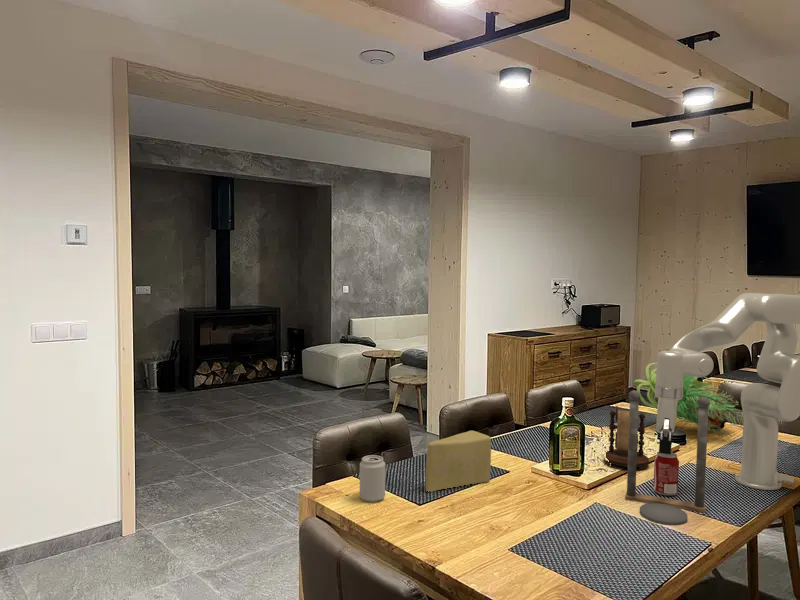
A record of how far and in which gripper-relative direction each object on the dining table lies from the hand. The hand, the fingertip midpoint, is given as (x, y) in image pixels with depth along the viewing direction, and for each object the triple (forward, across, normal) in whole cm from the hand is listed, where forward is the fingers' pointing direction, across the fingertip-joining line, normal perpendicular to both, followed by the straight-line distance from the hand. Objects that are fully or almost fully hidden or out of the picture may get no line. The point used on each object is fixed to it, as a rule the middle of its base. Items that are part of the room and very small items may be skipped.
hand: (665, 449), depth 181 cm
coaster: (+14, +17, +1) cm, 22 cm away
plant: (+12, -73, +9) cm, 74 cm away
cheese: (+15, +22, -58) cm, 64 cm away
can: (+16, +42, -76) cm, 89 cm away
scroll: (+14, -23, -13) cm, 30 cm away
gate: (+14, +8, +1) cm, 16 cm away
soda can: (+14, -1, +1) cm, 14 cm away
